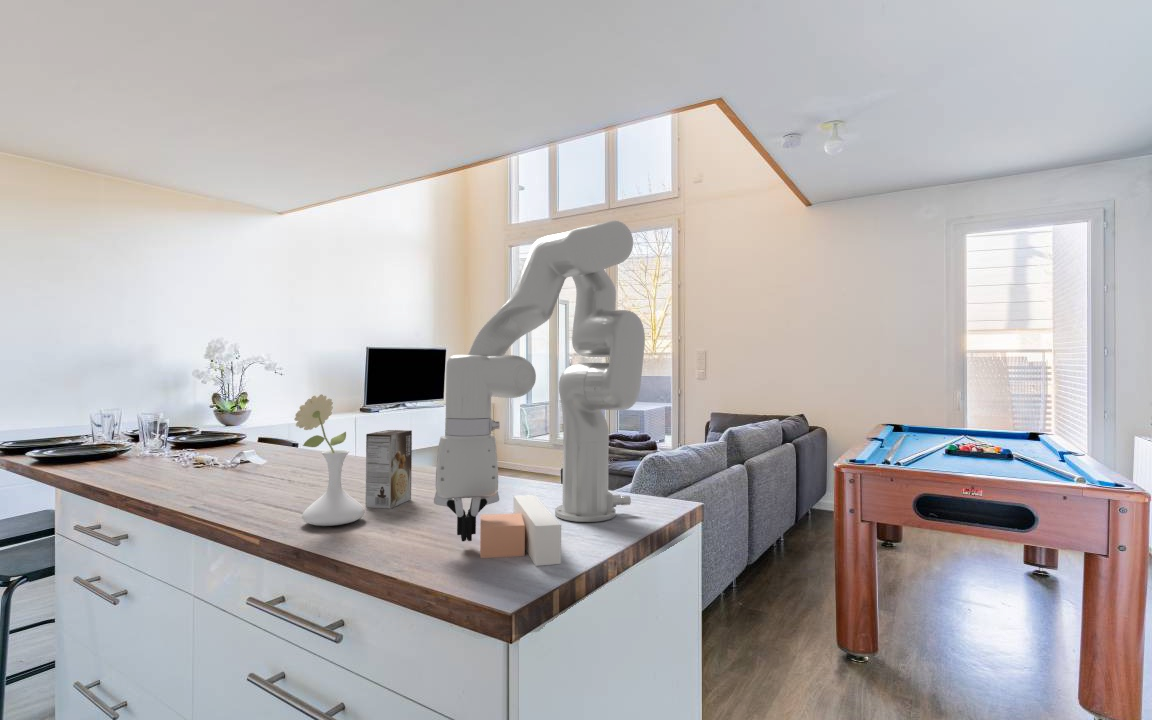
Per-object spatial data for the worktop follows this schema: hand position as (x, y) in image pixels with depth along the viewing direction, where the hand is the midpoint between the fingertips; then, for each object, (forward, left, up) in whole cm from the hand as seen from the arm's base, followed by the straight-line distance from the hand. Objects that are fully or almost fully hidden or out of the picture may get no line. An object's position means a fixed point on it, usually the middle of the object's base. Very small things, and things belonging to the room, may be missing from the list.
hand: (466, 538), depth 93 cm
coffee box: (+14, -37, -2) cm, 40 cm away
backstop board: (-12, 0, -2) cm, 12 cm away
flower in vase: (+24, -22, -2) cm, 33 cm away
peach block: (-6, +1, -2) cm, 6 cm away
